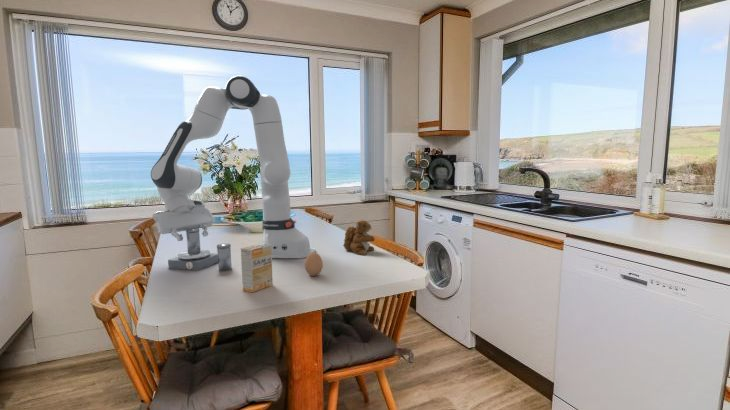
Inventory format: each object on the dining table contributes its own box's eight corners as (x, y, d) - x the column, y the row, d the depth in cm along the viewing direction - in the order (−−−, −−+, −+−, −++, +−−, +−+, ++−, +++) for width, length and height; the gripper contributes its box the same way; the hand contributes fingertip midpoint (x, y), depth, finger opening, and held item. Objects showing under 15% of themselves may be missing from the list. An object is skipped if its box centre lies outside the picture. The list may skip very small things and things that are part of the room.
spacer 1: (203, 251, 144) (202, 228, 143) (195, 255, 140) (193, 230, 139) (193, 251, 146) (191, 228, 144) (184, 254, 141) (182, 230, 140)
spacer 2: (234, 267, 138) (233, 243, 137) (226, 271, 134) (225, 246, 133) (223, 267, 140) (222, 243, 138) (215, 270, 135) (213, 245, 134)
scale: (220, 261, 147) (219, 252, 147) (197, 270, 135) (196, 261, 135) (191, 259, 151) (191, 250, 150) (167, 268, 139) (166, 259, 138)
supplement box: (253, 293, 113) (251, 249, 111) (242, 290, 115) (239, 247, 113) (273, 285, 120) (271, 244, 118) (262, 282, 122) (260, 242, 120)
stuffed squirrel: (366, 255, 152) (365, 223, 151) (337, 251, 160) (336, 220, 158) (378, 250, 161) (377, 219, 159) (350, 246, 168) (349, 217, 166)
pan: (216, 252, 146) (216, 250, 146) (196, 260, 136) (196, 257, 136) (192, 251, 150) (192, 248, 149) (171, 258, 139) (170, 256, 139)
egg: (301, 275, 129) (301, 252, 128) (317, 271, 132) (316, 249, 131) (310, 279, 124) (309, 256, 123) (326, 275, 128) (325, 252, 127)
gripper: (152, 207, 137) (166, 237, 132) (207, 201, 152) (221, 228, 147) (149, 218, 141) (162, 248, 135) (203, 211, 156) (216, 238, 151)
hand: (193, 237), depth 141 cm, fingers open, 8 cm apart
